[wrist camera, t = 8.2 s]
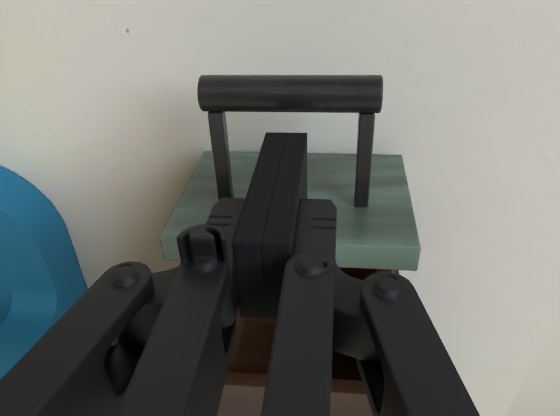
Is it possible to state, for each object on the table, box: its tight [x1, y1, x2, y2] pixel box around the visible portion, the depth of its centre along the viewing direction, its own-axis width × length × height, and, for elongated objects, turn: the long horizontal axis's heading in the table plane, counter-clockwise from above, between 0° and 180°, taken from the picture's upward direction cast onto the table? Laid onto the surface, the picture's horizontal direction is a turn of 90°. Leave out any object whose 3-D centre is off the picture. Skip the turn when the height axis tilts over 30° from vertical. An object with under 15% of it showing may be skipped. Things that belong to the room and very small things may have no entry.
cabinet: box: [217, 270, 399, 416], centre depth 31 cm, size 14×12×10 cm
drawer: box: [160, 75, 421, 381], centre depth 25 cm, size 18×10×8 cm, turn 2°
